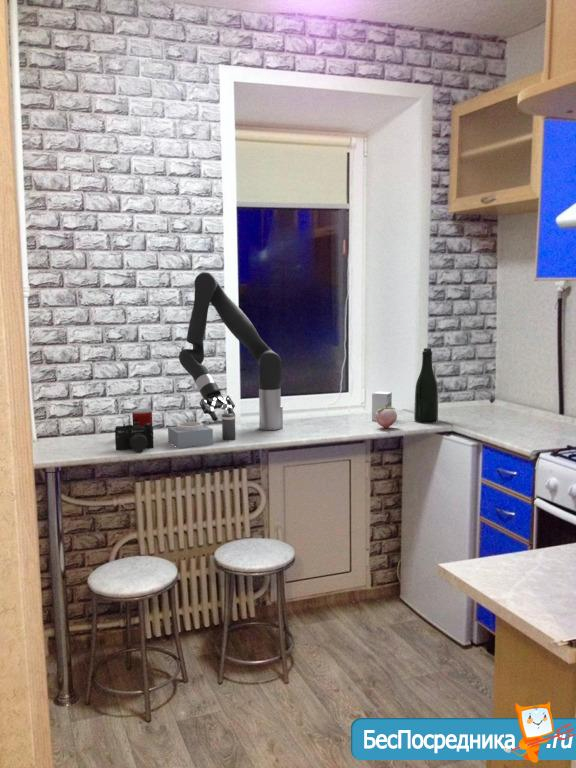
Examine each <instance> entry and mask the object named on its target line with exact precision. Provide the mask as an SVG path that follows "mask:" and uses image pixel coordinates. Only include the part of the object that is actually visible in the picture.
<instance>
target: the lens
mask: <svg viewBox="0 0 576 768" xmlns="http://www.w3.org/2000/svg"><path fill="white" fill-rule="evenodd" d="M221 433H222V435H221V436H222V441H226V440H228V441H229V440H231V441H236V413H235V414H232V413H228V412H226V413H222V414H221Z"/></svg>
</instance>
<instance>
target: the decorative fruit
mask: <svg viewBox="0 0 576 768" xmlns="http://www.w3.org/2000/svg"><path fill="white" fill-rule="evenodd" d="M375 417H376V421H375V422H377V424H378V425H379V426H380V427H382V428H384V429H388V428H390V427H392V425H394V424H395V423H396V421H397V418H398V413H397V412H396V408H395V407H393V406H392V407H387V405H386V408H380V409H378V411H377V412H376V415H375Z"/></svg>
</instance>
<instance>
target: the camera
mask: <svg viewBox="0 0 576 768" xmlns="http://www.w3.org/2000/svg"><path fill="white" fill-rule="evenodd" d="M114 438H115V439H114V440H115V442H114V443H115V451H116V450H120V451H133V452H137V453H141V452H144V451H145V450H146V448H147V449H154V445H155V444H154V427H153V423H152V424H150V423H146V424H145V426H140V424H139V422H134V423H133V422H132V424H127V425H126V423H123V425H121V426H120V425H118V426H115V428H114Z"/></svg>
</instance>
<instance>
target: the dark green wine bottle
mask: <svg viewBox="0 0 576 768" xmlns="http://www.w3.org/2000/svg"><path fill="white" fill-rule="evenodd" d="M421 354H422V357H421V359H422V361H421V369H420V373H419V375H418V378H417V379H416V382H415V388H414V389H415V391H414V410H413V411H414V414H413V420H414V421H415V422H416V423H420V422H421V423H420V424H422V423H423V424H434V423H433V422H435V423H437V422H438V421H439V385H438V381H437V378H436V375H435V372H434V369H433V351H432V348H431V347H424V348H423V351H422V353H421ZM436 421H437V422H436Z"/></svg>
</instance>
